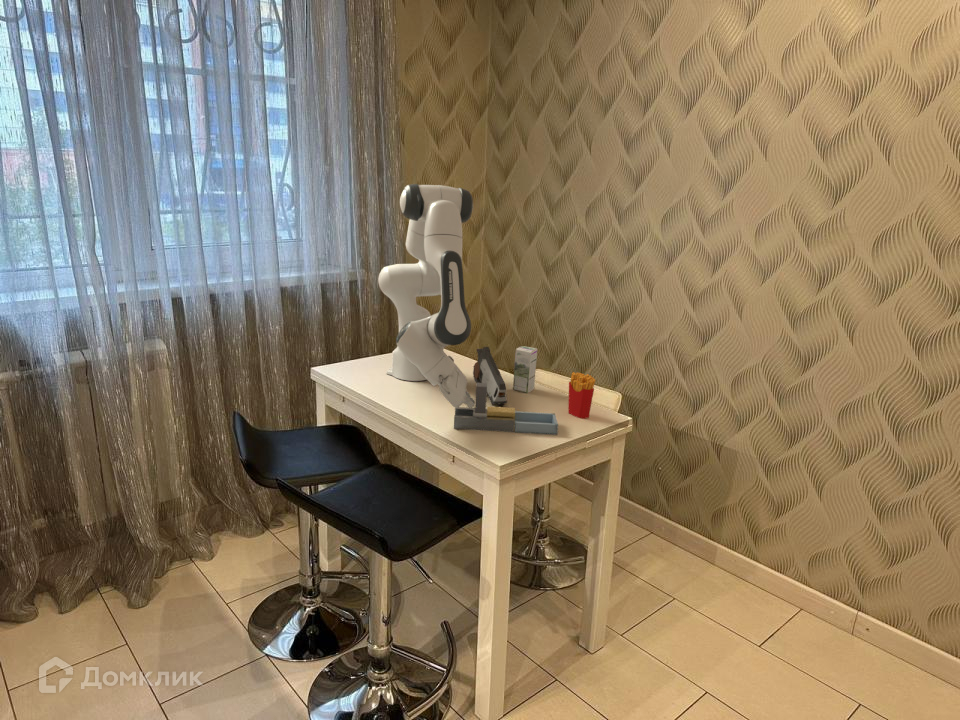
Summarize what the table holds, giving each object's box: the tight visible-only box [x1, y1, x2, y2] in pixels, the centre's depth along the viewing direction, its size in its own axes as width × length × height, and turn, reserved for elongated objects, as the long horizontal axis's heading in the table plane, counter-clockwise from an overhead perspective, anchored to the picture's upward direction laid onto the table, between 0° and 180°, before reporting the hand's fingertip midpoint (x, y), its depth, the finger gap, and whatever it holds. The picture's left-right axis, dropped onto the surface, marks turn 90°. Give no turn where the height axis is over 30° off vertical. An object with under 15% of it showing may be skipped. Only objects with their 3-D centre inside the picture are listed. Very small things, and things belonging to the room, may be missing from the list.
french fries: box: [567, 371, 597, 420], centre depth 210 cm, size 9×4×13 cm, turn 38°
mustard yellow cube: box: [500, 406, 516, 423], centre depth 199 cm, size 4×4×4 cm
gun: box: [472, 346, 508, 405], centre depth 226 cm, size 5×27×15 cm, turn 16°
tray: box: [514, 410, 559, 436], centre depth 200 cm, size 9×12×3 cm
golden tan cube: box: [486, 405, 501, 418], centre depth 199 cm, size 4×4×4 cm
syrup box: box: [512, 345, 538, 394], centre depth 230 cm, size 6×6×14 cm
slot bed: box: [453, 406, 515, 433], centre depth 199 cm, size 8×17×4 cm, turn 90°
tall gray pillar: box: [472, 383, 488, 417], centre depth 198 cm, size 4×4×11 cm
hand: (473, 405), depth 198 cm, fingers closed, pressing on tall gray pillar
